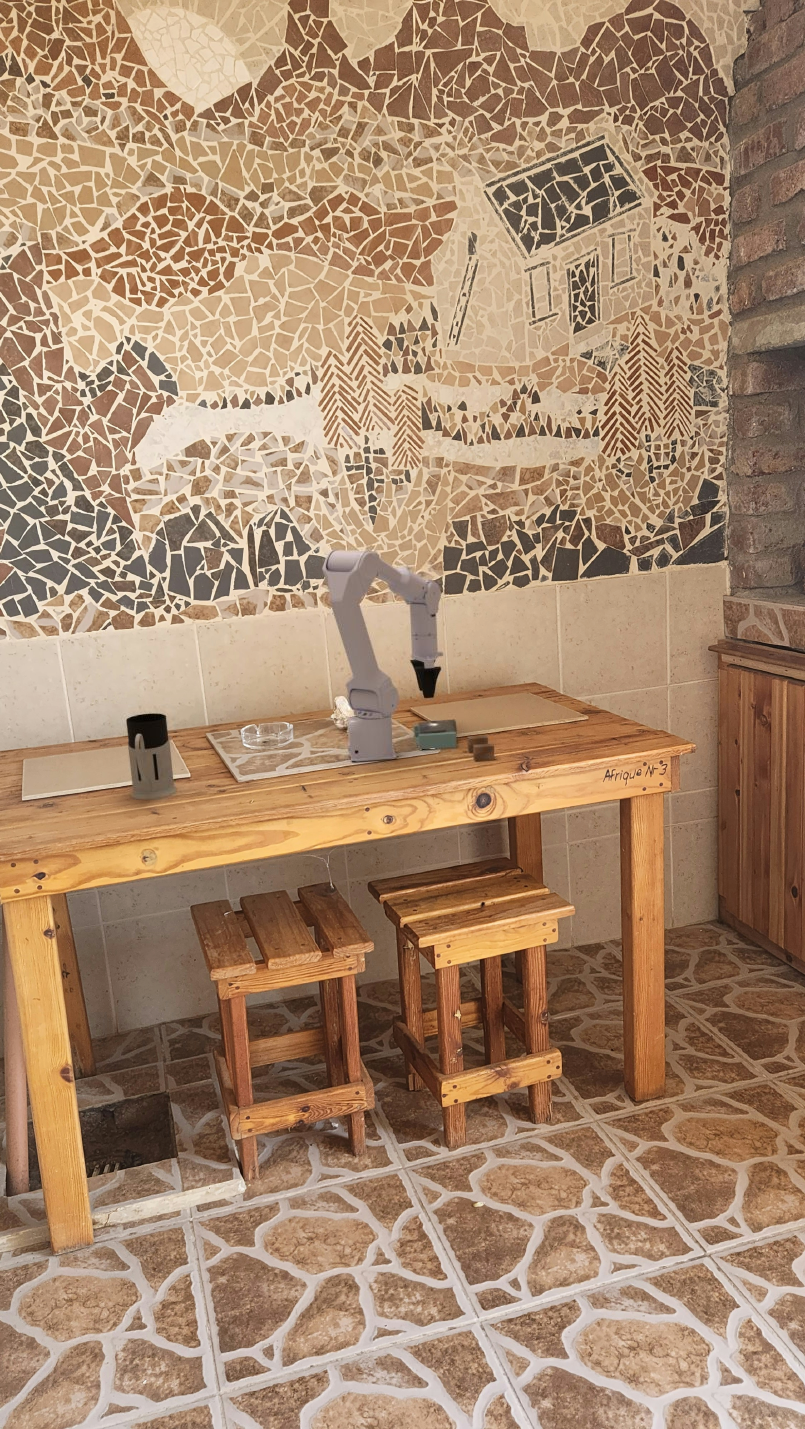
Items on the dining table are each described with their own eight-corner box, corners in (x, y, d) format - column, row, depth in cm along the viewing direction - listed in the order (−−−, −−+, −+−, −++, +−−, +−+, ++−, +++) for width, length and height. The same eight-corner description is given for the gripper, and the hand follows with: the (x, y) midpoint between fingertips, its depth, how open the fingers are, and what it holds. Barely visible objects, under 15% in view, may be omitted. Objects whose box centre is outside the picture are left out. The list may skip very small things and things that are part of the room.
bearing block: (475, 761, 221) (474, 747, 221) (468, 750, 230) (467, 736, 229) (494, 760, 222) (494, 746, 221) (486, 748, 230) (486, 735, 230)
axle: (420, 742, 234) (419, 724, 233) (418, 737, 238) (417, 719, 237) (456, 739, 235) (456, 722, 234) (453, 734, 239) (453, 717, 238)
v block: (419, 750, 231) (419, 736, 231) (414, 738, 241) (413, 724, 240) (456, 747, 232) (456, 733, 231) (449, 736, 242) (449, 722, 241)
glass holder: (180, 784, 215) (173, 711, 212) (167, 807, 202) (159, 729, 198) (136, 786, 215) (128, 713, 212) (120, 809, 201) (111, 732, 198)
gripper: (446, 638, 232) (449, 699, 235) (437, 627, 246) (439, 686, 249) (414, 640, 231) (417, 702, 234) (406, 629, 245) (409, 688, 248)
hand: (426, 694), depth 242 cm, fingers open, 7 cm apart
